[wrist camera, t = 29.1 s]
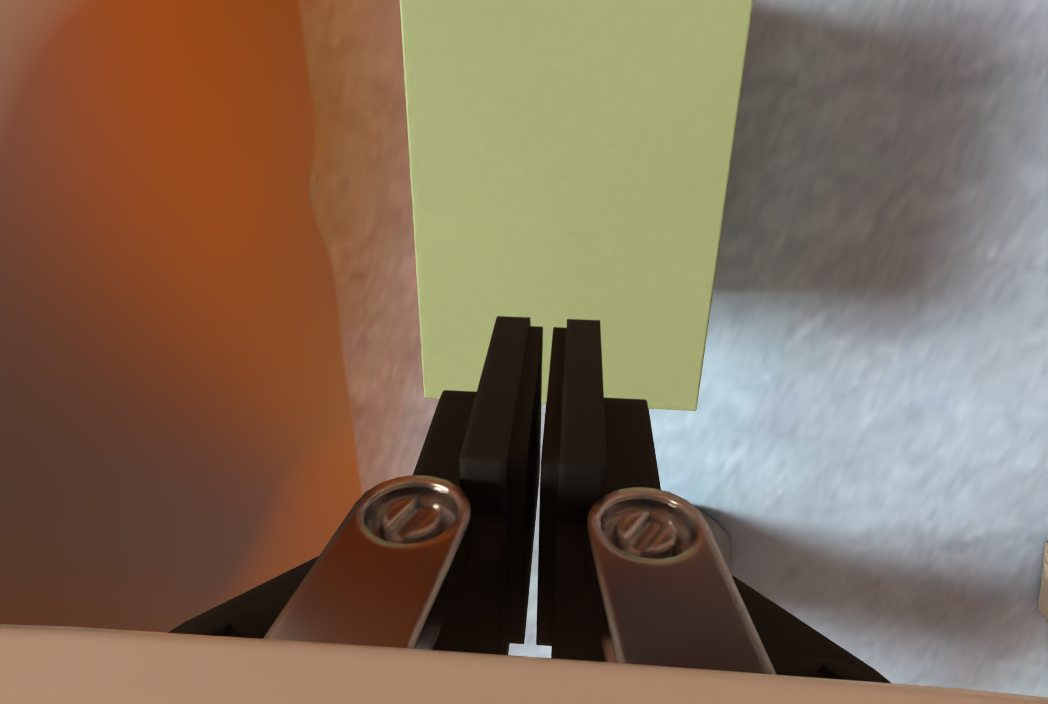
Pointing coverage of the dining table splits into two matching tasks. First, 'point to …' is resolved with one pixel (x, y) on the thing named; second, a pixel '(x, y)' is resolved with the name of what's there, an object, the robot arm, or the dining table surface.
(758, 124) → the dining table surface
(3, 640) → the robot arm
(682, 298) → the lid
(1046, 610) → the cosmetic box
